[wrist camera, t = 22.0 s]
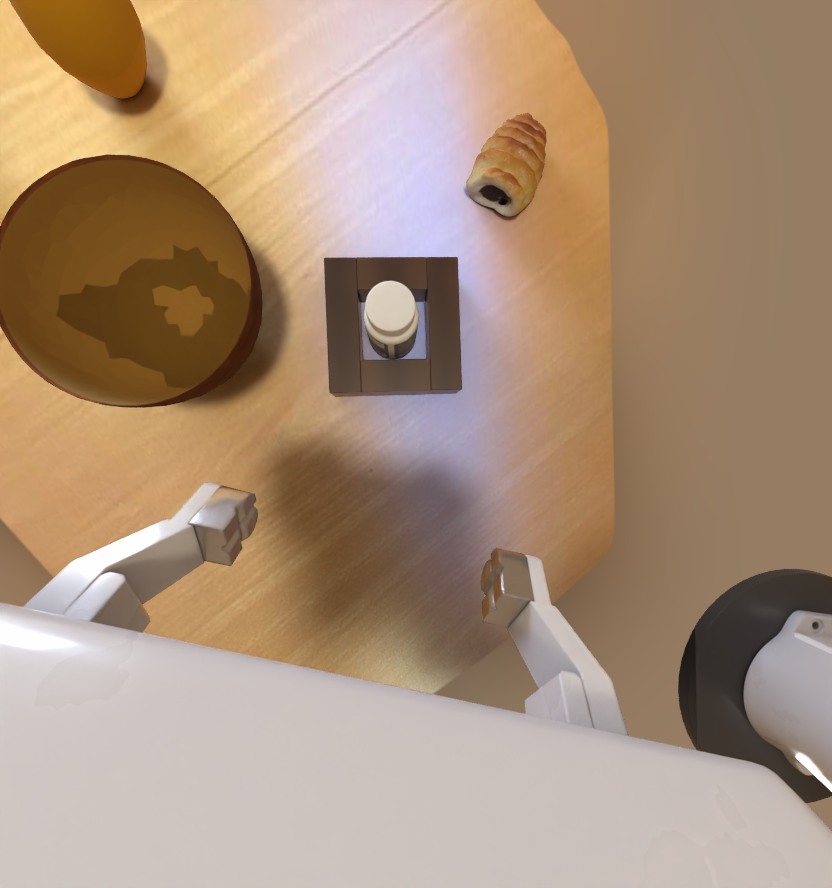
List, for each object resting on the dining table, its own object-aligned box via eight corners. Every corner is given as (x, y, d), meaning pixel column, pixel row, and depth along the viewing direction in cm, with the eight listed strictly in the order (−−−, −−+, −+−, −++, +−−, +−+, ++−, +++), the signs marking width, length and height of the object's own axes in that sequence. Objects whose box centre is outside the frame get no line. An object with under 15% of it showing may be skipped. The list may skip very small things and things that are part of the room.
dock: (452, 272, 35) (457, 256, 32) (456, 393, 35) (462, 389, 32) (330, 272, 34) (323, 257, 31) (335, 396, 35) (329, 393, 32)
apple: (176, 125, 33) (97, 12, 24) (85, 125, 33) (-29, 10, 24) (170, 36, 33) (88, -110, 24) (78, 35, 33) (-40, -115, 24)
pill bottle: (414, 313, 35) (419, 274, 27) (416, 359, 35) (422, 334, 27) (368, 314, 35) (359, 275, 26) (370, 360, 35) (362, 336, 26)
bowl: (71, 319, 33) (-69, 268, 23) (207, 201, 34) (127, 101, 24) (200, 451, 34) (118, 457, 24) (330, 334, 35) (303, 292, 25)
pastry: (499, 117, 35) (511, 78, 31) (555, 149, 36) (574, 114, 32) (460, 198, 35) (468, 168, 31) (517, 228, 35) (532, 203, 32)
